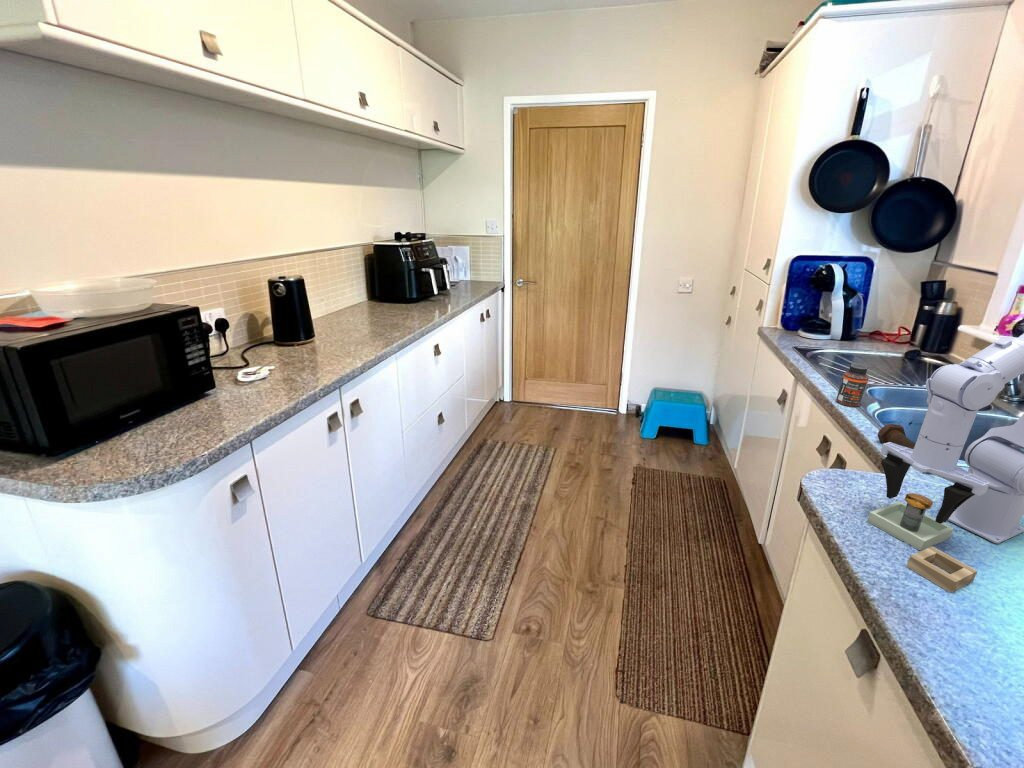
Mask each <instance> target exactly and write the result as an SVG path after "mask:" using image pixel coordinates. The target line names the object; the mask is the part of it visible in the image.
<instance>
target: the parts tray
mask: <svg viewBox="0 0 1024 768" xmlns="http://www.w3.org/2000/svg"><path fill="white" fill-rule="evenodd" d="M906 505H907V503H906V504H905V503H903V502H901V501H897V502H893V503H891V504H887V505H885V506H883V507H880V508H878V509H874V510H871V511H870V512H869V513H868V517H867V520H866V522H867V523H869V524H871V525H873V526H875V527H876V528H878V529H880V530H881V531H884V533H887V534H889V535H890V536H892V537H894V538H896V539H898V541H899V540H900V541H901V542H903V541H904V542H903V543H905V542H906V543H905V544H907V543H908V544H910V545H911V546H910V545H909V546H910V547H912V546H913V547H912V548H914V547H915V548H914V549H916V550H917V549H918V551H919V550H920V551H923V550H924V549H927V548H929V547H932V546H933V545H934V546H936V545H938V544H941V543H942V542H944V541H947V540H949V539H951V537H952V535H953V532H954V529H955V528H954V527H951V526H950V525H948V524H945V522H944V523H941V524H940V523H938V522H936V518H934V517H932V516H930V515H928V514H926V513H925V514H924V517H923V519H922V522H921V525H920V527H919V530H918V531H917V532H911V531H908V530H906V529H904V528H902V527H901V526H900V522H901V519H902V516H903V514H904V511H905V508H906ZM908 544H907V545H908ZM934 546H933V547H934ZM920 551H919V552H920Z"/></svg>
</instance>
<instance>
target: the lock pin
mask: <svg viewBox="0 0 1024 768" xmlns="http://www.w3.org/2000/svg"><path fill="white" fill-rule="evenodd" d="M904 501H905V503H906V508H905V511H904V514H903V516H902V519H901V522H900V526H901V527H902V528H904V529H906V530H908V531H911V532H917V531H918V530H919V527H920V525H921V522H922V519H923V517H924V514H926V511H927V510H931V509H932V507H933V504H934V503H933V502H934V501H932V500H931V499H930V498H928V497H926V496H924V495H922V494H918V493H915V492H909V493H907V494H905V497H904Z"/></svg>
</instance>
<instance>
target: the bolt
mask: <svg viewBox="0 0 1024 768" xmlns="http://www.w3.org/2000/svg"><path fill="white" fill-rule="evenodd" d="M877 438H878V441H879V443H881V444H882V445H883V444H884V443H888V442H891V443H894V444H897V445H900V446H903V447H907V448H910V449H914V447H915V444H916V442H914V441H913V440H911V439H910V438H909V437H907V435H906V431H905V429H904V427H903V426H902V425H900V424H894V423H889V424H886V425H884V426H882V427H881V429H879V430H878V433H877Z"/></svg>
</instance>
